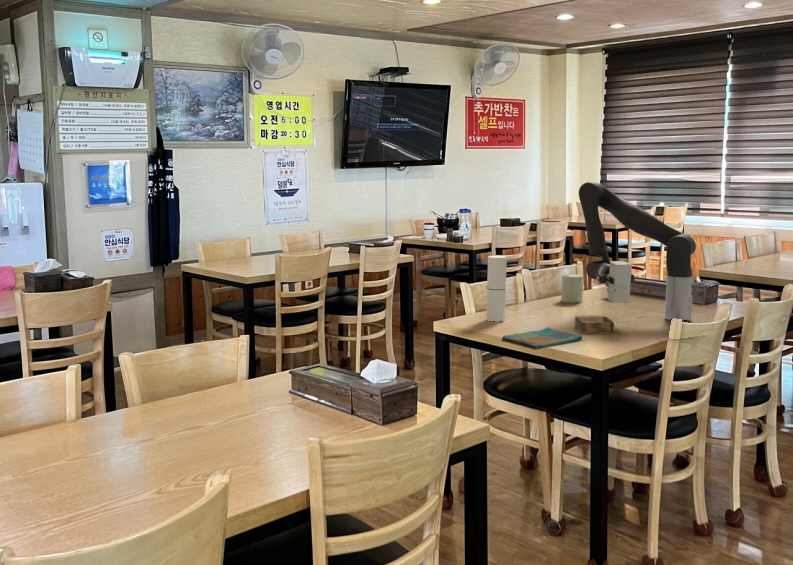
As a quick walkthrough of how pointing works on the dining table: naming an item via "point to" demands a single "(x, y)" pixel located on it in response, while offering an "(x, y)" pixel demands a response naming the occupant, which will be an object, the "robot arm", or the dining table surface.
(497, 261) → the cylindrical container
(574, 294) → the can
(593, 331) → the bracket
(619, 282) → the skincare box
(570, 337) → the dish towel
